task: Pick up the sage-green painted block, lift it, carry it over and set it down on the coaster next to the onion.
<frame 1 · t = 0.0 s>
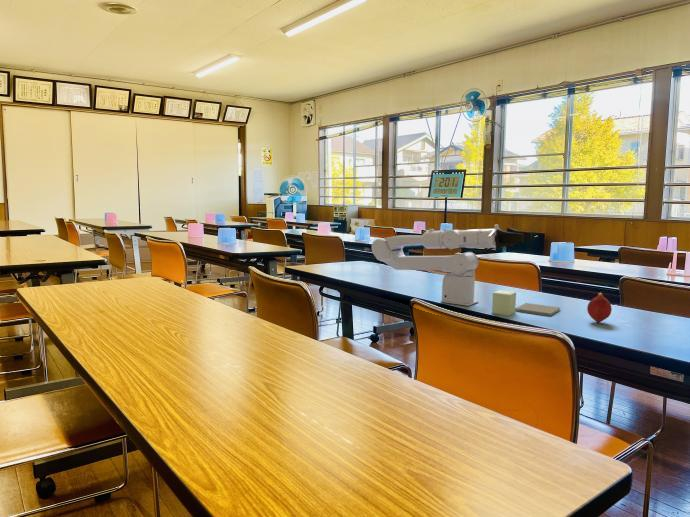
hand: (527, 237, 145), 22 cm above the table, tool horizontal, fingers open, 7 cm apart
coaster: (537, 310, 149), on the table
onion: (598, 323, 136), on the table
block: (503, 312, 146), on the table
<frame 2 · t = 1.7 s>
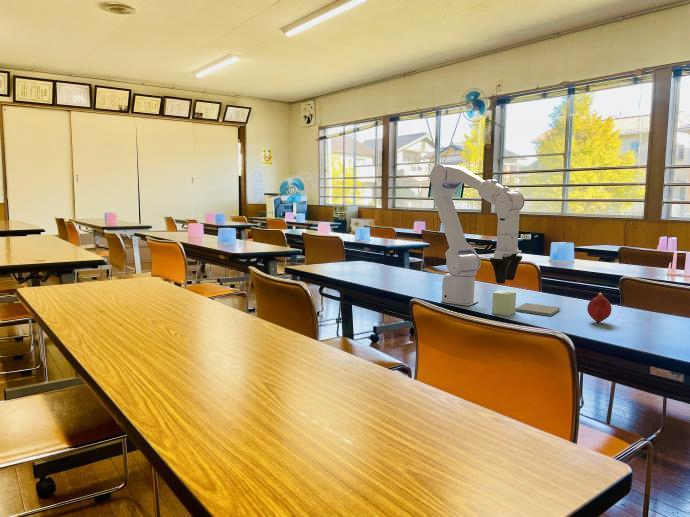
hand: (505, 281, 145), 9 cm above the table, tool pointing down, fingers open, 7 cm apart
nothing on the table moved.
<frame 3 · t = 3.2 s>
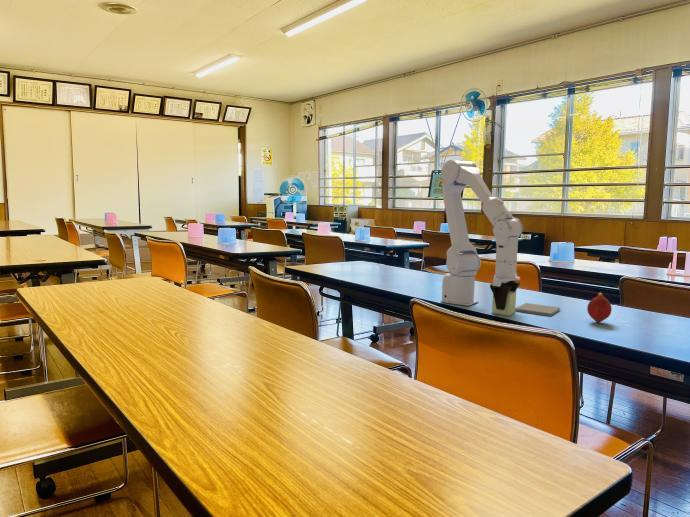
hand: (503, 307, 146), 1 cm above the table, tool pointing down, fingers closed on block, 5 cm apart
block: (503, 312, 146), on the table, touching gripper
everything else where it was.
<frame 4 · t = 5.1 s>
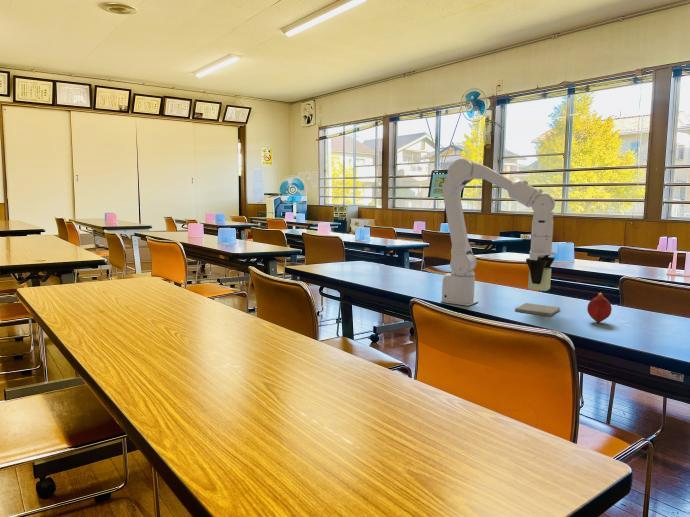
hand: (539, 282, 148), 8 cm above the table, tool pointing down, fingers closed on block, 5 cm apart
block: (538, 288, 148), point 7 cm above the table, touching gripper
everything else where it was.
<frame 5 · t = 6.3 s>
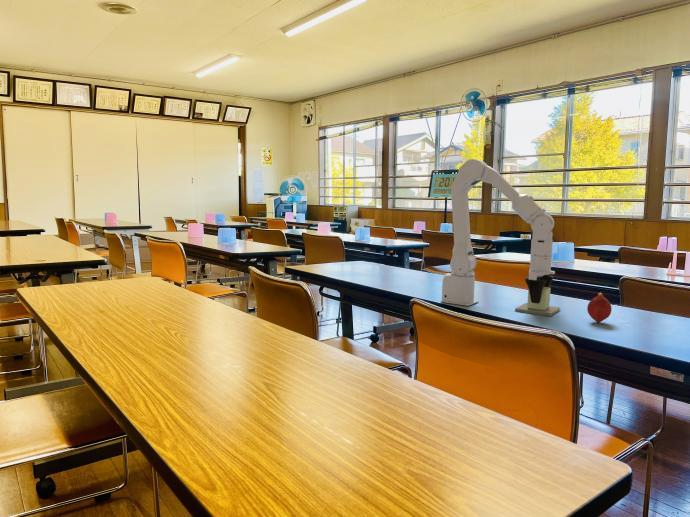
hand: (538, 301, 149), 3 cm above the table, tool pointing down, fingers closed on block, 5 cm apart
block: (538, 307, 149), point 1 cm above the table, touching gripper
everything else where it was.
when the fingers open (3 cm above the table, at t = 7.1 s): block stays where it is, resting on coaster.
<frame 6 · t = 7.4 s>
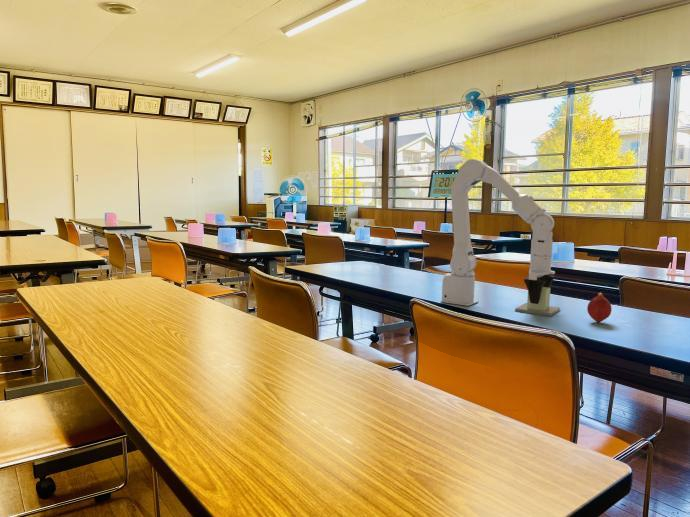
hand: (538, 301, 149), 3 cm above the table, tool pointing down, fingers open, 7 cm apart
block: (538, 308, 149), point 1 cm above the table, touching coaster
everything else where it was.
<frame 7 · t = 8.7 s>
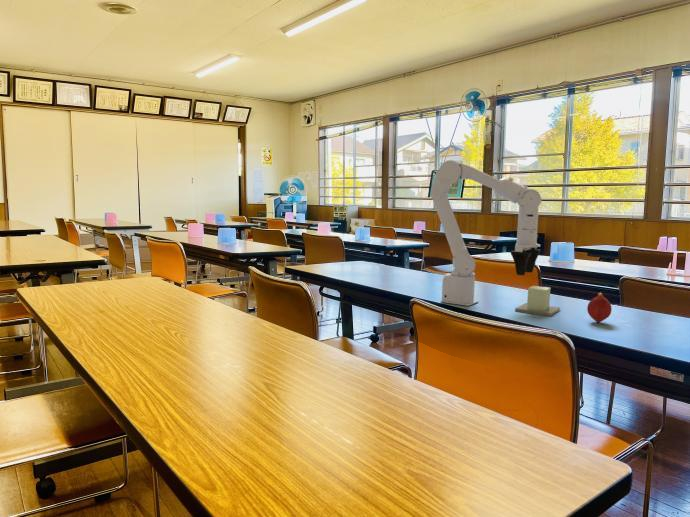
hand: (524, 273, 155), 10 cm above the table, tool pointing down, fingers open, 7 cm apart
nothing on the table moved.
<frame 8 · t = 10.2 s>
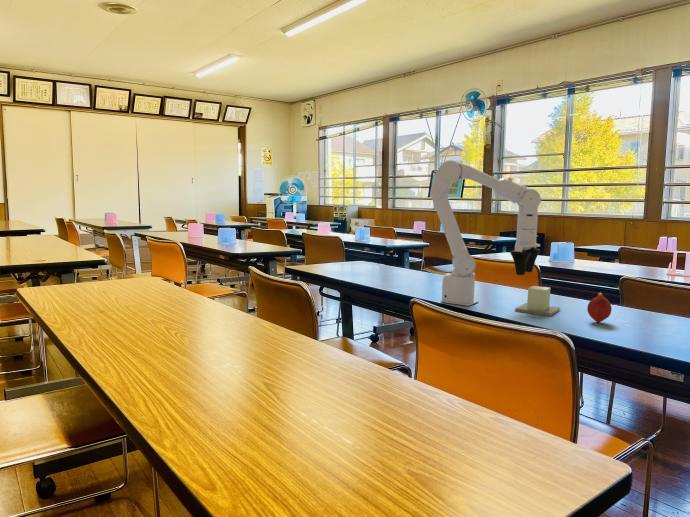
hand: (524, 273, 156), 10 cm above the table, tool pointing down, fingers open, 7 cm apart
nothing on the table moved.
at the end: block inside the target area on the coaster (0.1 cm from its centre), point 0.8 cm above the coaster's base; block tilted 0°; the gripper is holding nothing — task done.
